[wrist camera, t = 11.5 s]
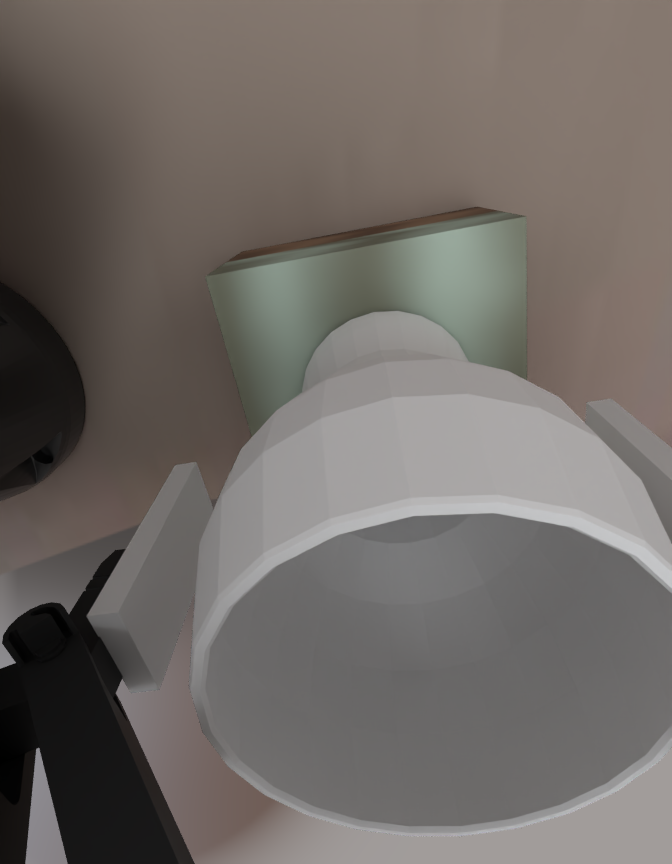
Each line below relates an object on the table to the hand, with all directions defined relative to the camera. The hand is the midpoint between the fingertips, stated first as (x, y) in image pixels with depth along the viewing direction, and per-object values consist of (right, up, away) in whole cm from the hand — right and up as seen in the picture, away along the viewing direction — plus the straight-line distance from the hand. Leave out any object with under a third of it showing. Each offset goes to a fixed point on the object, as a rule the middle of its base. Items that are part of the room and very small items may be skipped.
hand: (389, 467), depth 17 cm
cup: (+1, +3, +6) cm, 7 cm away
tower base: (0, +7, +13) cm, 15 cm away
